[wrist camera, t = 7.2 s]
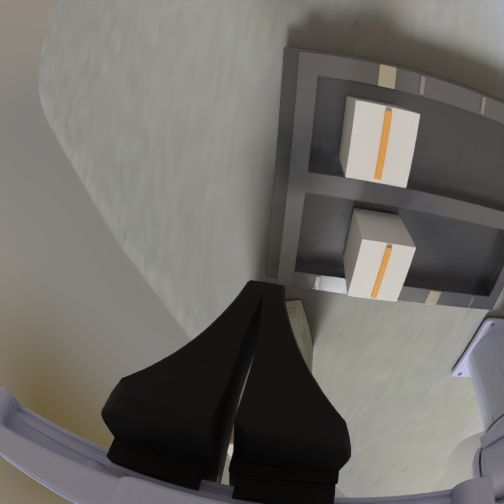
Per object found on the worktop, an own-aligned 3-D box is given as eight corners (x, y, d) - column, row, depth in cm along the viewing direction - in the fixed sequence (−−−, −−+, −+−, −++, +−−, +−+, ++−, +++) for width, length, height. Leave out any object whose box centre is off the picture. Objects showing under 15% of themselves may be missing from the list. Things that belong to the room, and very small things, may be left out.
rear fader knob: (399, 215, 18) (416, 249, 15) (385, 263, 20) (396, 303, 17) (353, 207, 19) (362, 240, 15) (343, 257, 20) (347, 297, 17)
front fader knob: (397, 105, 15) (421, 114, 11) (388, 165, 17) (406, 189, 13) (346, 95, 15) (356, 100, 12) (338, 156, 17) (345, 178, 14)
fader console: (544, 122, 13) (564, 130, 11) (487, 295, 21) (498, 314, 19) (285, 49, 16) (281, 44, 13) (268, 266, 23) (262, 286, 21)
